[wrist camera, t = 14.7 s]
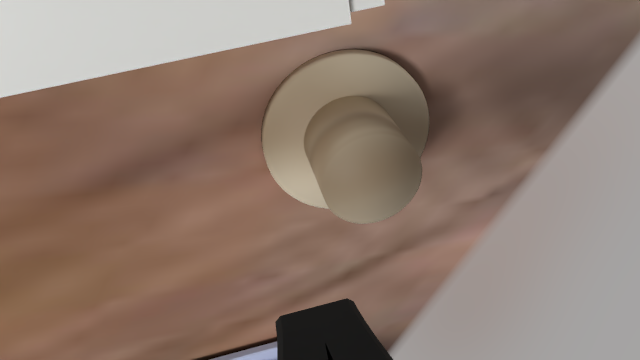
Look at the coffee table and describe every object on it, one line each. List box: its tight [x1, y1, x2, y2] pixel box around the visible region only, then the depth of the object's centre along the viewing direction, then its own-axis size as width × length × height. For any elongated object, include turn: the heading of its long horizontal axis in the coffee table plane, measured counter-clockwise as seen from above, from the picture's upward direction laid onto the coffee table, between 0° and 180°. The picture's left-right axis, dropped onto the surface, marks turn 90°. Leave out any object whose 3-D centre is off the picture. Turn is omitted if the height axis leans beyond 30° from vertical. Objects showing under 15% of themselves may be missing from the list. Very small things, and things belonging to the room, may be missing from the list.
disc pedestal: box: [261, 49, 429, 224], centre depth 18 cm, size 6×6×4 cm
